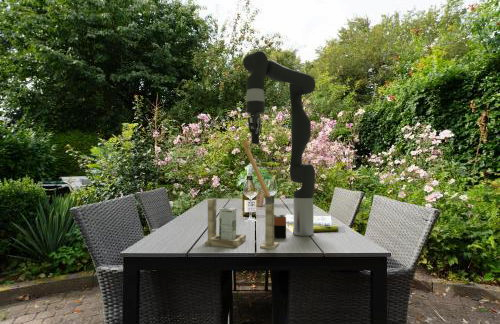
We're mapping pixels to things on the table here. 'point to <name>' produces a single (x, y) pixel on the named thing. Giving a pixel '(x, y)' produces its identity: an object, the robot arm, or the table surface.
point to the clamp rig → (269, 235)
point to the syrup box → (227, 223)
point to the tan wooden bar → (255, 167)
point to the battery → (279, 226)
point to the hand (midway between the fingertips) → (255, 143)
